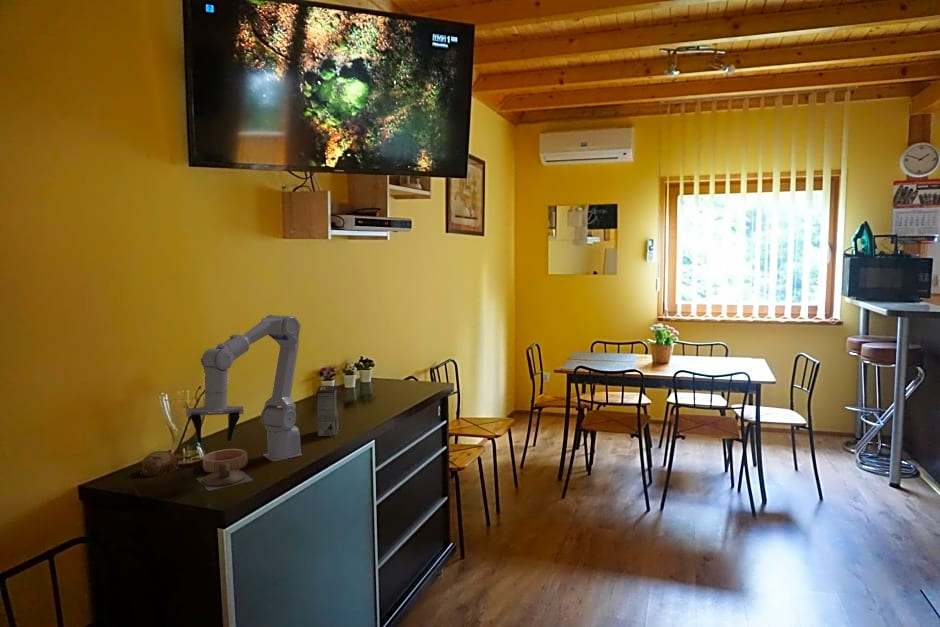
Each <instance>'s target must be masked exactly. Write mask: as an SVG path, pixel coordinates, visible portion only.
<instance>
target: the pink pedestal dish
mask: <svg viewBox="0 0 940 627" xmlns="http://www.w3.org/2000/svg"><path fill="white" fill-rule="evenodd" d="M218 468H219V472H215V473H213V472H210V473H209V474H208V475H207V474H206V475H205V476H203V477H204V478H203V483H204V484H205V485H207V486H212V487H220V486H228V485H232V484H236V483H238V482H241V481H242V480H244V479H245V474H246V472H245V471H243V470H241V469H240V470H241V471H240V470H229V463H227V462H224V463H220V464H218ZM236 485H237V484H236ZM232 486H233V485H232ZM228 487H229V486H228Z"/></svg>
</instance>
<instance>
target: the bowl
mask: <svg viewBox="0 0 940 627" xmlns="http://www.w3.org/2000/svg"><path fill="white" fill-rule="evenodd" d="M224 462H227V463H229V470H237V469H240V470H241V469H242V468H245V467H246V466H247V464H248V451H246V450H244V449H242V448H240V449H239V448H226V449H221V450H220V449H219V450H214V451H211V452H209V453H206V454H204V456H203V457H202V470H204V471H205V472H207V473H215V472H219V468H218V464H220V463H224Z"/></svg>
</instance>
